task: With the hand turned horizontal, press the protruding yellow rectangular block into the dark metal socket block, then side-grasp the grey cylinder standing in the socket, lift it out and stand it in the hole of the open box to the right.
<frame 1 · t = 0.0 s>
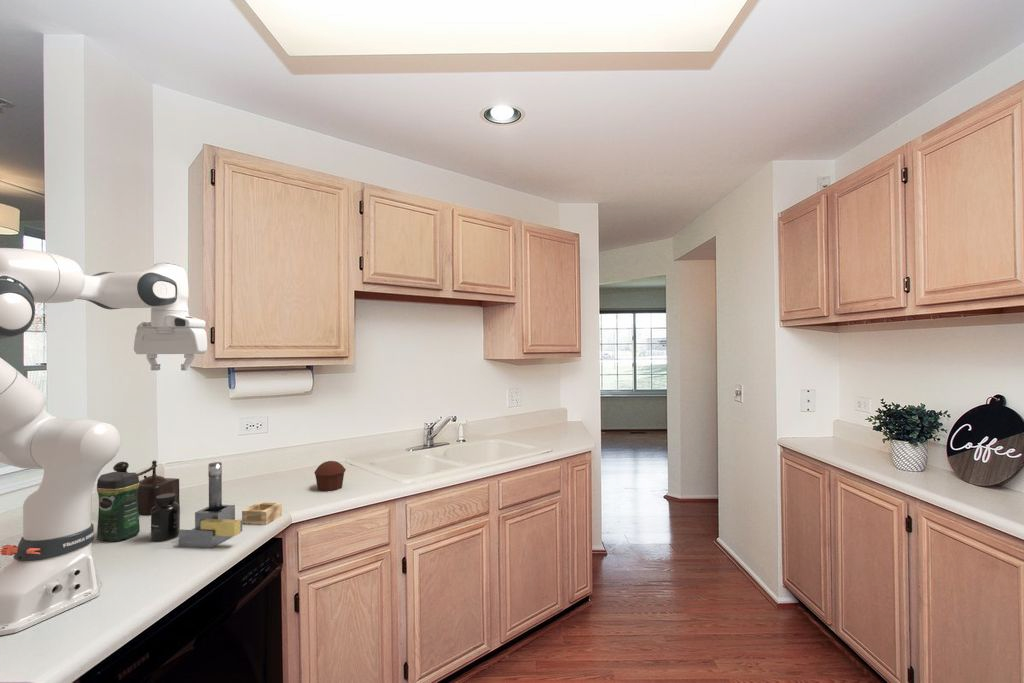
hand: (170, 370, 139), 48 cm above the worktop, tool pointing down, fingers open, 8 cm apart
supplement bottle: (165, 538, 140), on the worktop
grey cylinder: (215, 526, 140), point 3 cm above the worktop, touching socket
yellow rectangular block: (220, 527, 134), point 5 cm above the worktop, slide at 0.0 cm
muffin: (330, 488, 187), on the worktop
open box: (262, 519, 154), on the worktop
manual coffee grinder: (146, 513, 161), on the worktop
socket: (211, 538, 139), on the worktop
coffee jar: (118, 537, 141), on the worktop
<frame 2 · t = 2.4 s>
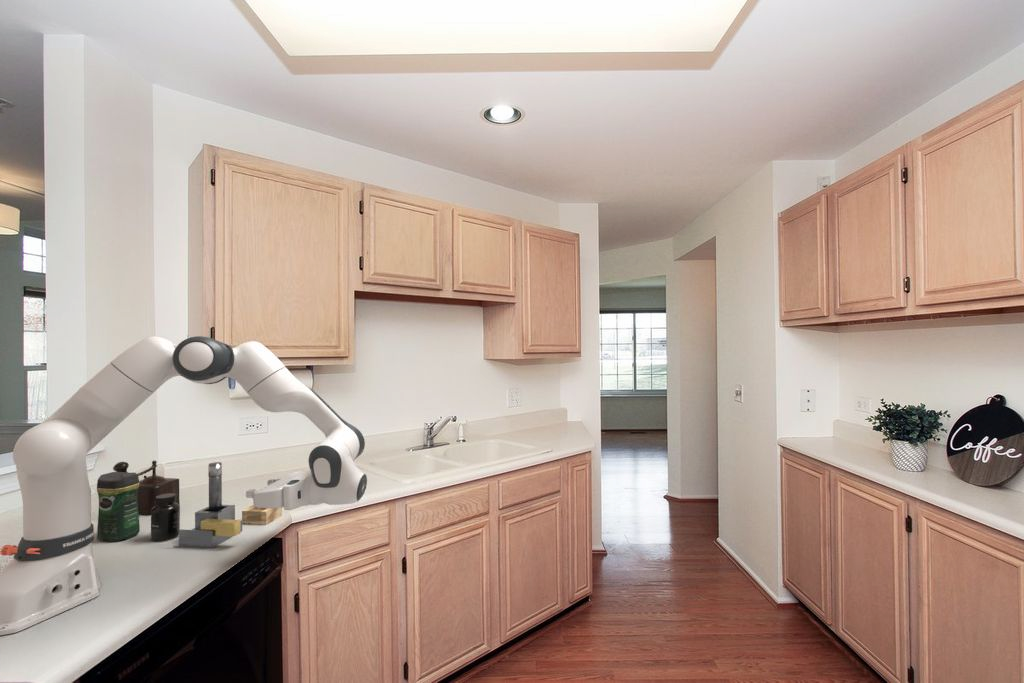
hand: (258, 487, 133), 16 cm above the worktop, tool horizontal, fingers open, 8 cm apart
nothing on the worktop moved.
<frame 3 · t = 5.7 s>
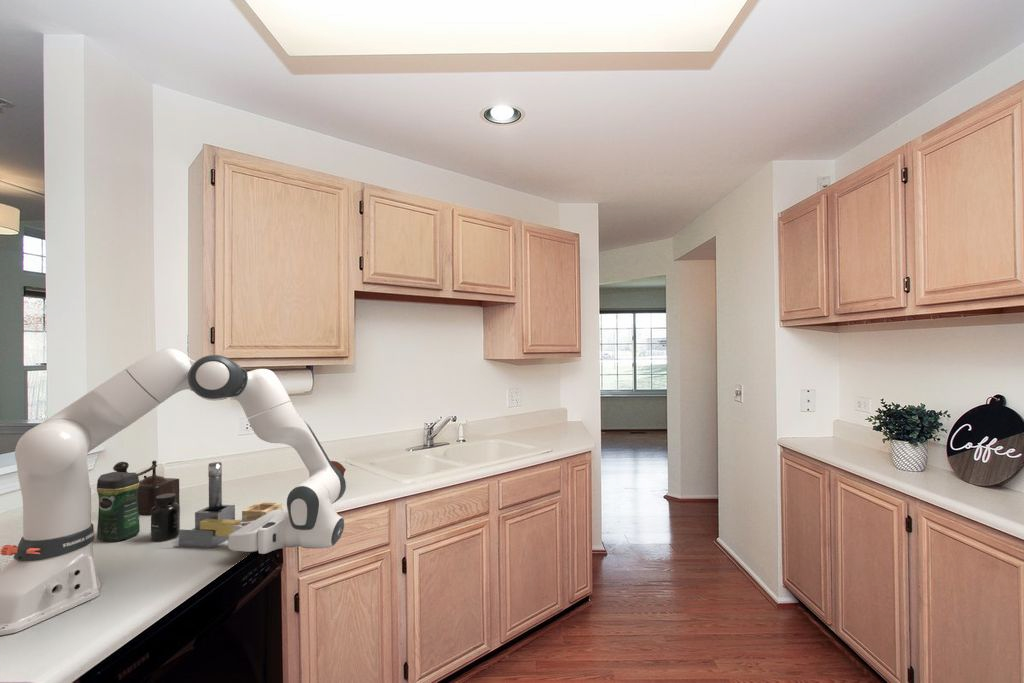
hand: (236, 527, 133), 5 cm above the worktop, tool horizontal, fingers closed, pressing on yellow rectangular block
yellow rectangular block: (219, 527, 134), point 5 cm above the worktop, slide at 0.3 cm, touching gripper
everything else where it was.
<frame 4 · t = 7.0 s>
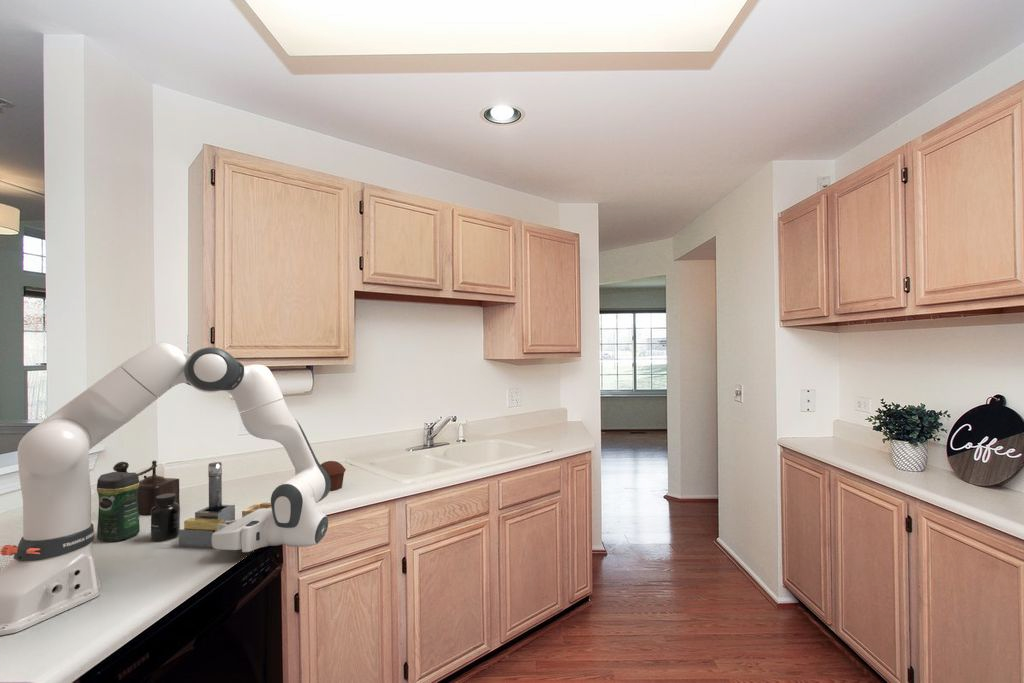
hand: (220, 525, 134), 5 cm above the worktop, tool horizontal, fingers closed, pressing on yellow rectangular block
yellow rectangular block: (204, 526, 135), point 5 cm above the worktop, slide at 4.9 cm, touching gripper
everything else where it was.
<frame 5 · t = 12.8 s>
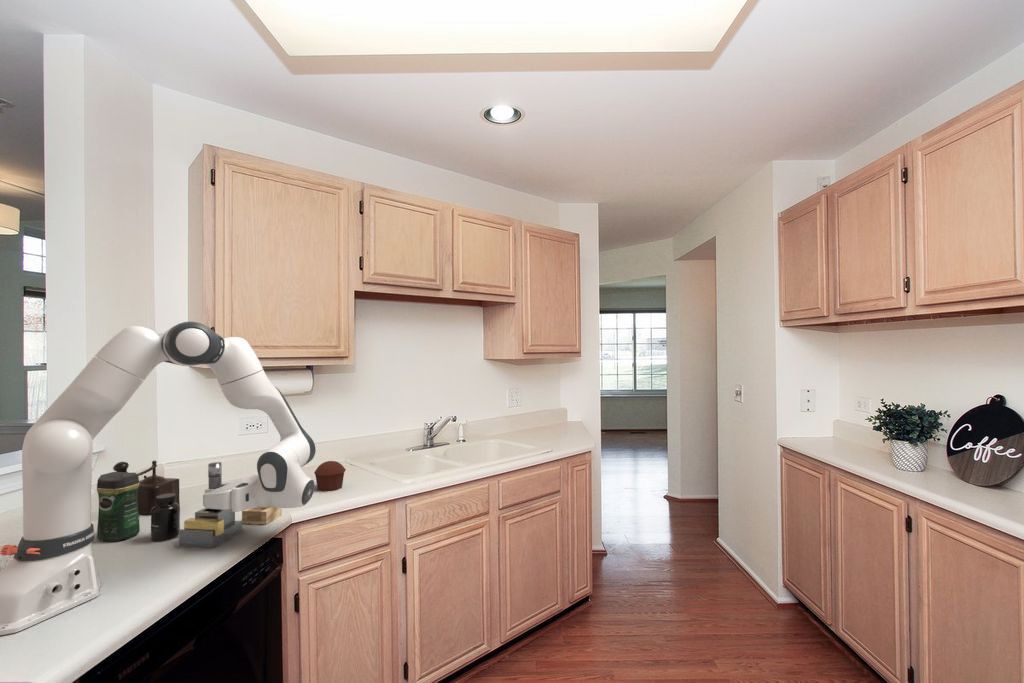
hand: (212, 489, 141), 14 cm above the worktop, tool horizontal, fingers closed on grey cylinder, 3 cm apart
grey cylinder: (215, 526, 140), point 3 cm above the worktop, touching gripper, socket
yellow rectangular block: (204, 526, 135), point 5 cm above the worktop, slide at 4.9 cm
everything else where it was.
when the fingers open (12 cm above the worktop, at t = 17.6 s): grey cylinder stays where it is, resting on open box.
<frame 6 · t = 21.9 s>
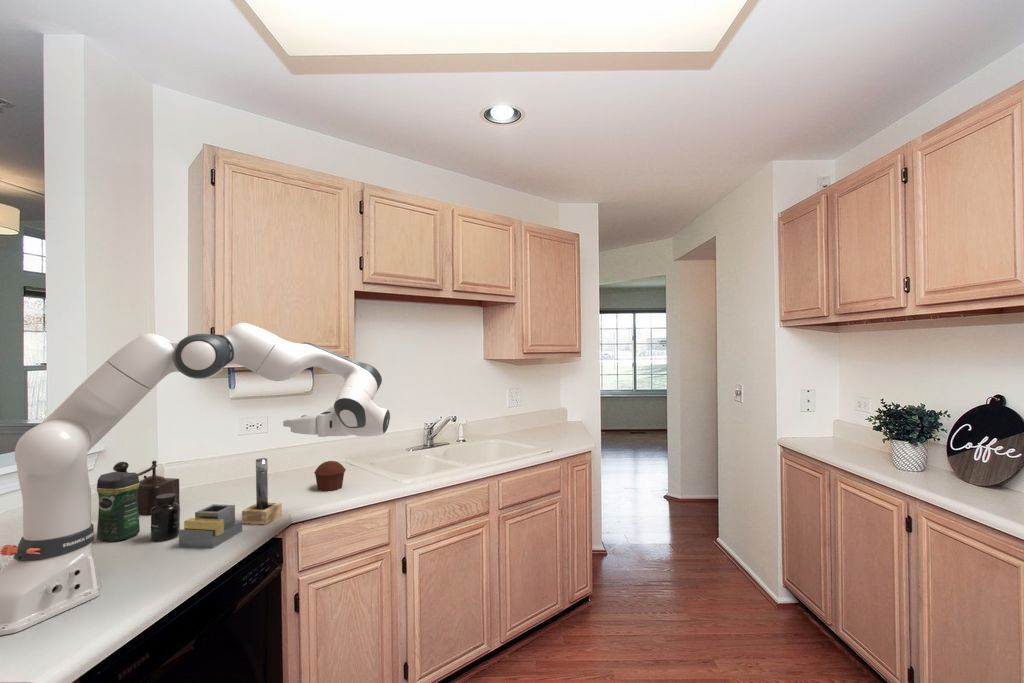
hand: (293, 420, 148), 32 cm above the worktop, tool horizontal, fingers open, 8 cm apart
grey cylinder: (262, 516, 154), point 1 cm above the worktop, touching open box
everything else where it was.
at the end: yellow rectangular block slide at 4.9 cm; grey cylinder 0.1 cm off-centre on the open box, point 1.0 cm above the open box's base; grey cylinder tilted 0° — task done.
